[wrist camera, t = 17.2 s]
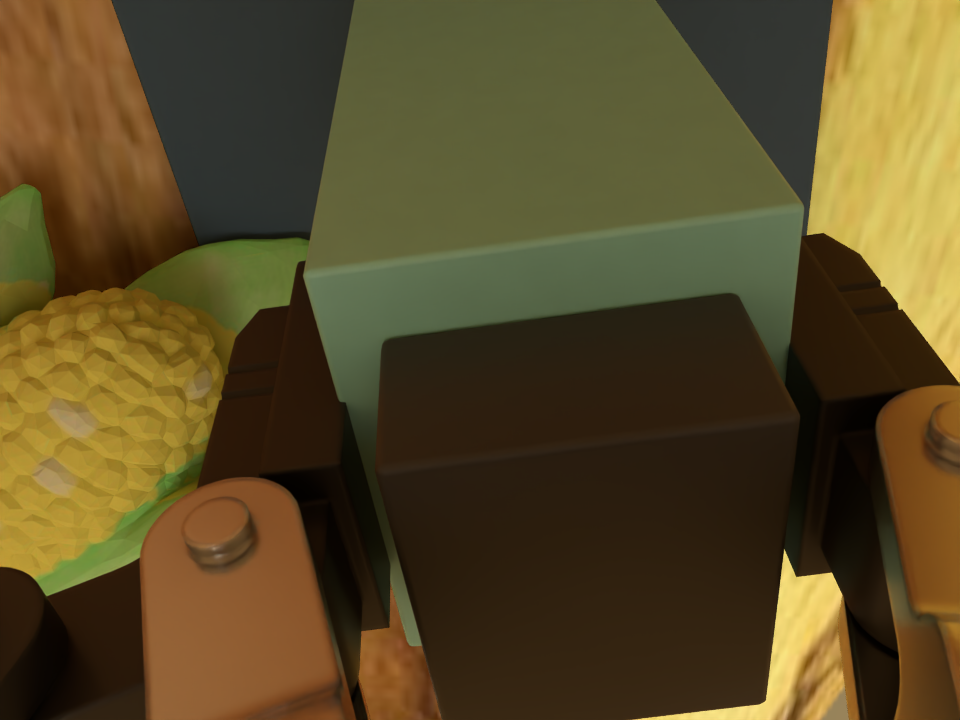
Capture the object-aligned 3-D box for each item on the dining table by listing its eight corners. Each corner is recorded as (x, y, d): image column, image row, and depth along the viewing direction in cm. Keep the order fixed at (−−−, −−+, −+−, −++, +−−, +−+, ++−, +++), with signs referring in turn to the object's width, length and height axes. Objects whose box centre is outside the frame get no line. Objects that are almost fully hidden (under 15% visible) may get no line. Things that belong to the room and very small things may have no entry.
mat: (877, -474, 14) (887, -477, 14) (795, 280, 23) (801, 288, 22) (-2, -337, 15) (-10, -337, 14) (243, 354, 23) (240, 364, 23)
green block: (411, 210, 18) (362, -50, 15) (607, 183, 18) (596, -84, 15) (406, 789, 9) (274, 403, 6) (815, 741, 9) (895, 320, 6)
